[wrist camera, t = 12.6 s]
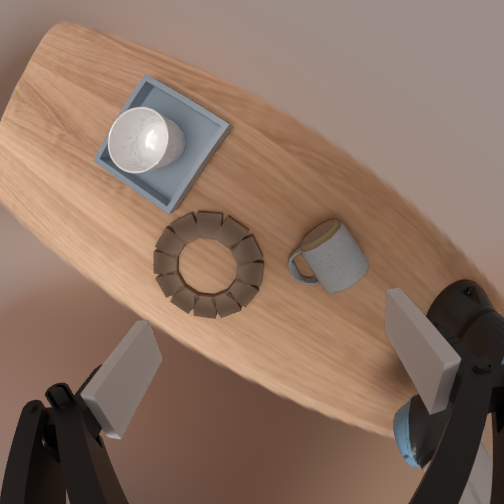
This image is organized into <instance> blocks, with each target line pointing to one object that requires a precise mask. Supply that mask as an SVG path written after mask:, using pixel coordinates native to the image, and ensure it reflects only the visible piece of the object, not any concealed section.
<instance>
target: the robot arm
mask: <svg viewBox="0 0 504 504" xmlns="http://www.w3.org/2000/svg"><path fill="white" fill-rule="evenodd" d="M385 335H386V336H387V338H388V340H389V341H390V343H391V345H392V346H393V348H394V350H395V352H396V353H397V355H398V357H399V359H400V360H401V362H402V364H403V366H404V367H405V369H406V371H407V373H408V374H409V376H410V378H411V380H412V382H413V384H414V385H415V387H416V389H417V391H418V394H417V395H415V396H413V397H412V398H411V399H410V400H409V401H408V402H407V403H406V404H405V405H403V406H402V407H401V408H400V409H399V410H398V411H397V412H396V414H395V416H394V420H393V430H394V436H395V439H396V443H397V445H398V448H399V450H400V453H401V454H402V455H403V456H404V459H405V461H406V462H407V463H408V464H409V465H410V466H412V467H419V466H421V468H422V470H423V472H425V474H424V476H423V478H422V480H421V482H420V484H419V486H418V488H417V489H416V491H415V493H414V495H413V497H412V498H411V500H410V502H409V504H504V317H503V316H501V315H500V314H499V313H498V312H497V311H495V310H494V308H493V306H492V304H491V302H490V300H489V299H488V297H487V295H486V293H485V291H484V290H483V289H482V288H481V287H480V286H479V285H477V284H476V283H475V282H473V281H470V280H462V281H458V282H456V283H454V284H452V285H450V286H449V287H447V288H446V289H445V290H444V291H443V292H442V293H441V294H440V295H439V296H438V297H437V298H436V300H435V301H434V303H433V304H432V306H431V308H430V310H429V312H428V315H427V318H426V316H425V315H424V314H423V313H422V312H421V311H420V310H419V309H418V308H417V306H416V305H415V304H414V303H413V302H412V301H411V300H410V299H409V298H408V297H407V296H406V294H405V293H404V292H403V291H402V290H401V289H400V288H394V289H389V290H386V322H385ZM161 361H162V356H161V353H160V351H159V348H158V346H157V343H156V340H155V337H154V334H153V332H152V329H151V326H150V323H149V320H145V321H137V322H136V323H135V324H134V326H133V327H132V328H131V329H130V331H129V332H128V333H127V334H126V336H125V337H124V338H123V339H122V341H121V342H120V343H119V344H118V346H117V347H116V348H115V350H114V351H113V352H112V353H111V355H110V356H109V357H108V358H107V360H106V361H105V362H104V364H101V365H100V366H98V367H97V368H96V369H94V371H93V372H92V373H91V374H90V376H89V377H88V378H87V379H86V382H84V383H83V385H82V386H81V387H80V388H79V390H78V391H77V392H76V394H75V395H73V393H72V391H71V390H70V388H69V386H68V384H66V383H57V384H54V385H53V386H51V387H50V388H48V390H47V391H46V393H45V396H46V398H47V400H48V401H49V403H50V404H51V406H52V407H50V408H45V406H44V405H43V403H42V402H41V401H40V400H33V401H30V402H28V403H27V404H26V405H25V406H24V408H23V410H22V413H21V416H20V419H19V422H18V425H17V428H16V431H15V435H14V438H13V442H12V445H11V450H10V453H9V458H8V461H7V466H6V470H5V475H4V480H3V486H2V491H1V496H0V504H66V489H67V493H68V497H69V501H70V504H129V503H128V501H127V499H126V497H125V495H124V492H123V490H122V488H121V486H120V484H119V481H118V479H117V476H116V474H115V472H114V469H113V466H112V464H111V461H110V459H109V456H108V453H107V451H106V448H105V445H104V442H103V439H102V438H101V436H100V435H99V433H100V431H101V430H102V429H103V431H104V432H105V434H106V435H107V436H108V437H111V438H117V439H121V438H122V436H123V434H124V432H125V430H126V428H127V426H128V424H129V423H130V421H131V419H132V417H133V415H134V413H135V411H136V409H137V407H138V405H139V403H140V401H141V399H142V397H143V396H144V394H145V392H146V390H147V388H148V386H149V384H150V382H151V380H152V378H153V377H154V375H155V373H156V371H157V369H158V367H159V365H160V363H161ZM489 413H491V414H492V429H493V461H492V459H491V458H490V456H489V454H488V452H487V450H486V448H485V446H484V445H483V442H482V440H483V436H484V432H485V427H484V426H485V422H486V418H487V414H489ZM42 440H43V442H44V446H43V442H42Z"/></svg>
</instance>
